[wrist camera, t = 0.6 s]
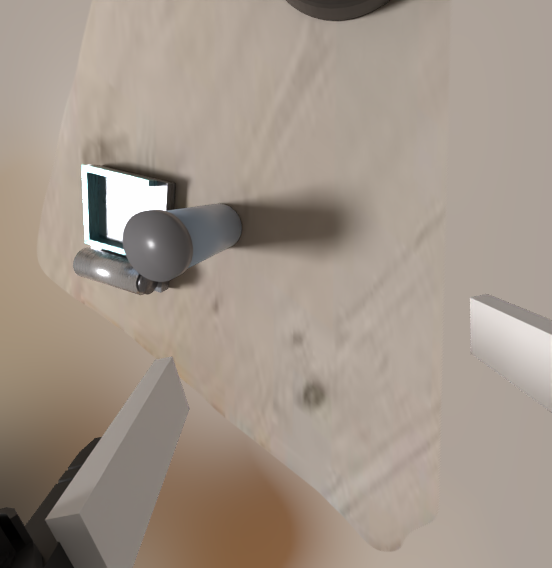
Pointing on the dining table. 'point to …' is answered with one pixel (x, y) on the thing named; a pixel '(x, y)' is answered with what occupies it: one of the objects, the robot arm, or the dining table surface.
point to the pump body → (178, 238)
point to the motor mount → (117, 224)
